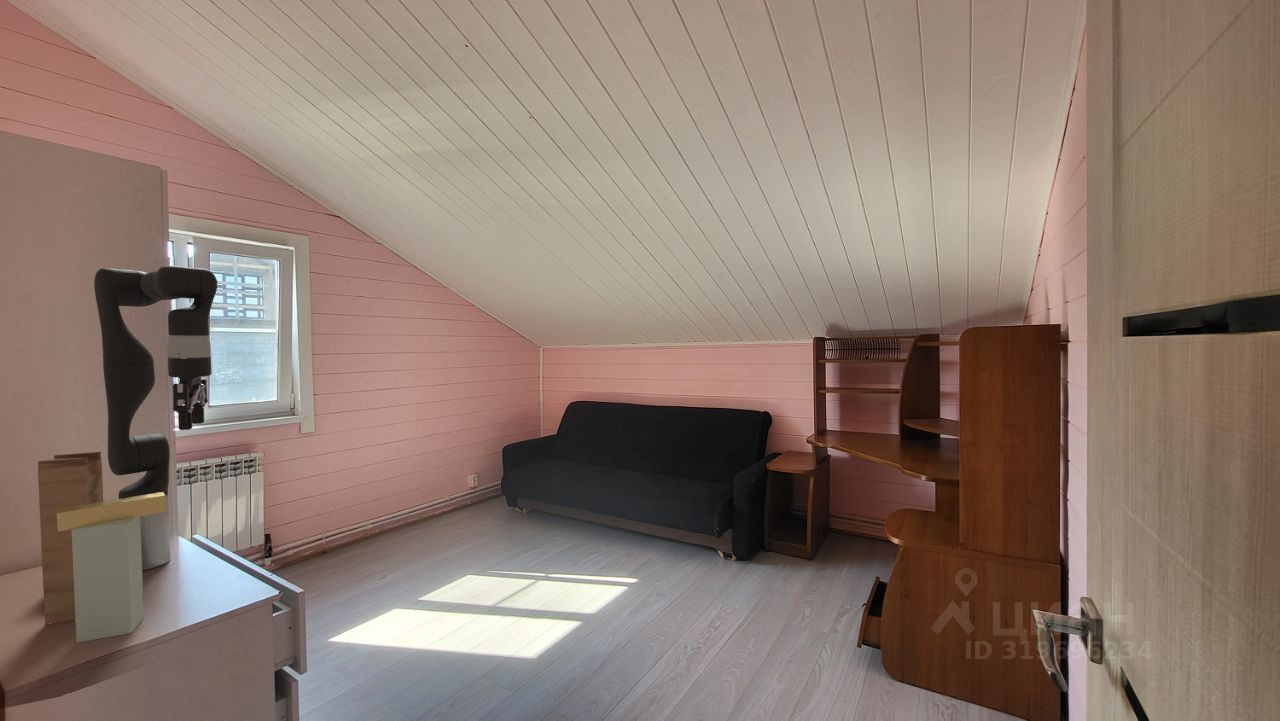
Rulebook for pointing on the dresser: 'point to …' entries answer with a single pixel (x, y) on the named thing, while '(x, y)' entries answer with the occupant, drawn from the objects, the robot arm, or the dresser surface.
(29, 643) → the dresser surface
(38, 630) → the dresser surface
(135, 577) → the block
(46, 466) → the stand
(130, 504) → the rail
